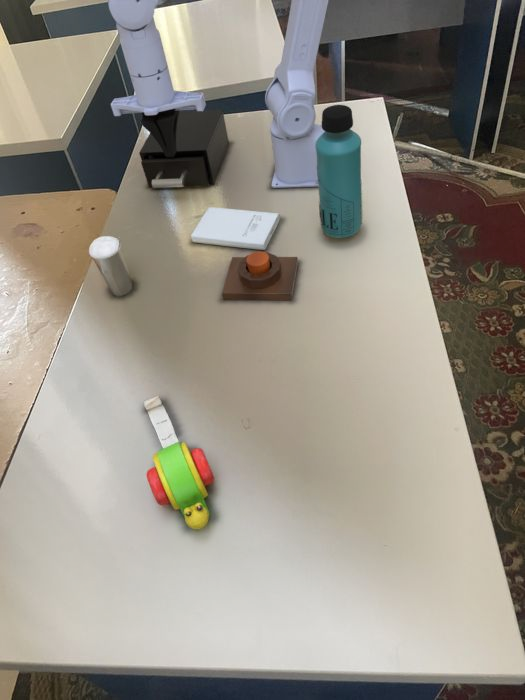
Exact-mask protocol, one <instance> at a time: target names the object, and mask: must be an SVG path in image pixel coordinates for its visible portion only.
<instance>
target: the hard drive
mask: <svg viewBox="0 0 525 700" xmlns="http://www.w3.org/2000/svg"><path fill="white" fill-rule="evenodd" d="M280 215H281V214H280V213H279V212H268V211H267V212H266V211H256V210H247V209H238V208H237V209H236V208H227V207H226V208H225V207H214V206H209V207H208V208H207V209H206V211H205V212H204V214H203V215H202V218H201V219H200V220H199V222H198V223H197V225H196V226H195V228H194V229H193V231H192V232H191V235H190V238H191V242H192V243H196V244H197V243H198V244H204V245H214V246H222V247H232V248H239V249H241V248H242V249H249V250H258V251H266V249H267V247H268V245H269V243H270V241H271V239H272V237H273V235H274V233H275V231H276V229H277V227H278V226H279V223H280V220H281V216H280Z"/></svg>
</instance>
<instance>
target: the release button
mask: <svg viewBox="0 0 525 700" xmlns="http://www.w3.org/2000/svg"><path fill="white" fill-rule="evenodd" d="M265 252H266V251H263V250H258V251H253V252H251V253H249V254H248V255H249V256H248V257H247V265H248V270H249V272H250V273H251V274H263V273H266V272H268V271H269V269H270V261H269V256H268V254H267V253H265Z"/></svg>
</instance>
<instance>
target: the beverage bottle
mask: <svg viewBox="0 0 525 700" xmlns="http://www.w3.org/2000/svg"><path fill="white" fill-rule="evenodd" d="M321 125H322V129H323V130H324V131H325V132H324V133H323V134H322V135H321V136H320V137H319V138H318V139H317V141H316V144H315V147H316V154H317V162H316V163H317V170H318V172H317V173H318V180H317V181H318V185H319V186H318V196H319V197H318V198H319V199H318V200H319V203H318V208H319V209H318V211H319V220H320V223H319V224H320V227H321V229H322V231H323V232H324V233H325V234H326V235H327V236H329V237H332V238H336V239H345V238H349V237H352V236H354V235H356V234H357V233H358V232H359V231H360V229H361V227H362V224H363V222H364V220H363V218H364V217H363V216H364V211H363V210H364V209H363V208H364V207H363V205H364V203H363V196H362V188H363V186H362V185H363V183H362V138H361V136H360V135H359V134H358V133H357V132H355V131H354V130H352V128H353V126H354V119H353V110H352V109H351V107H350V106H348V105H345V104H334V105H330V106H327V107H326V108H324V109H323V111H322V113H321Z"/></svg>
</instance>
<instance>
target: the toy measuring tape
mask: <svg viewBox="0 0 525 700" xmlns="http://www.w3.org/2000/svg"><path fill="white" fill-rule="evenodd" d="M143 406H144V408H145V410H146V412H147V415H148V417H149V419H150V422H151V424H152V427H153V429H154V431H155V433H156V435H157V438H158V440H159V443H160V445H161V447H162V449H159V450H158V451H156V453H154V454H152V460H153V464H154V466H153V467H151V468H149V469H148V470H147V472H146V479H147V482H148V485H149V487H150V490H151V492H152V495H153V497H154V500H155V501H156V503H157V504H158V505H159V506H165V505H168V504H169V503H170V505H171V506H172V508H173V509H174V510H175V511H177V510H178V511H179V510H180V511H181V513H182V515H183V518H184V522H185V524H186V525H187V526H188V528H190V529H193V530H200V529H203V528H204V527H205V526H206V525H207V524H208V522H209V519H210V518H209V517H210V515H211V513H210V511H209V507H208V506H207V503H206V500H205V498H207V497H208V496H209V494H208V491H207V488H206V486H209V485H211V484H212V483H213V482H214V481H215V476H214V473H213V471H212V469H211V466H210V464H209V462H208V459H207V457H206V453H205V452H204V450H203V448H201V447H196V448H194V449H192V450H190V448H189V446H188V445H187V443H186V442H180V440H179V438H178V436H177V434H176V431H175V426H174V425H173V423H172V420H171V417H170V416H169V414H168V412H167V410H166V408H165V406H164V405H163V401H162V399H161V397H160V395H156V396H154V397H151V398H149V399H147V400H144V401H143Z"/></svg>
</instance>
